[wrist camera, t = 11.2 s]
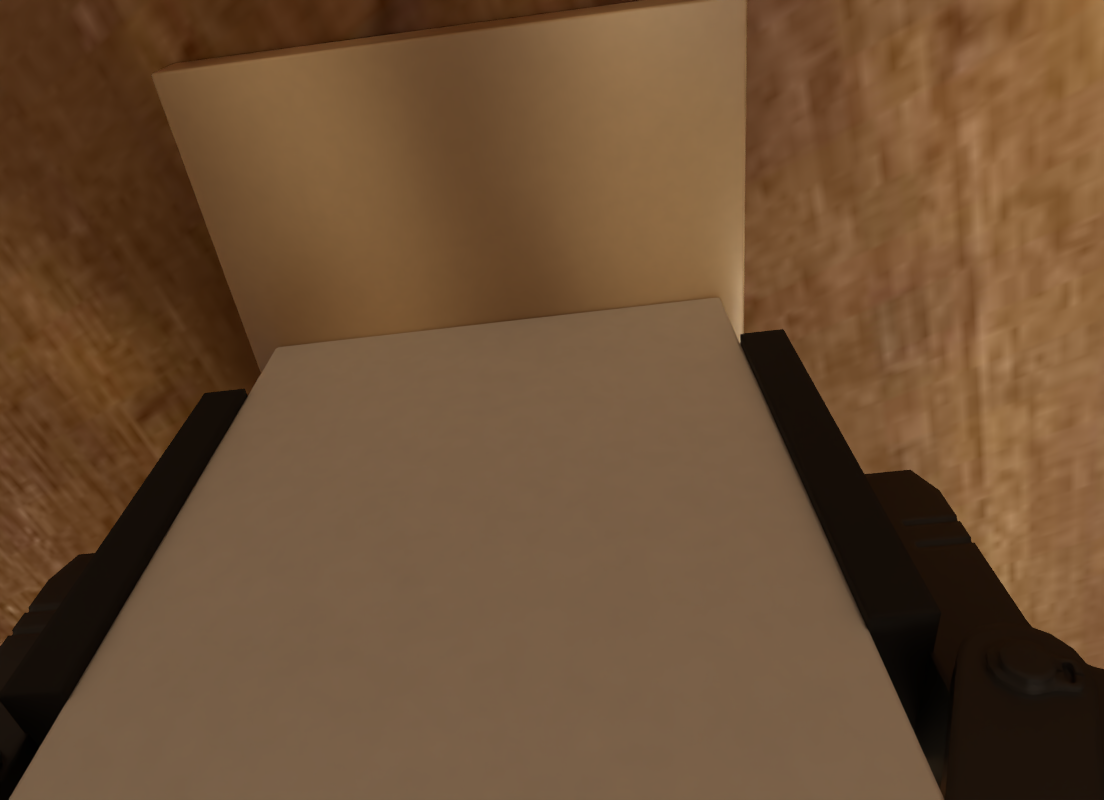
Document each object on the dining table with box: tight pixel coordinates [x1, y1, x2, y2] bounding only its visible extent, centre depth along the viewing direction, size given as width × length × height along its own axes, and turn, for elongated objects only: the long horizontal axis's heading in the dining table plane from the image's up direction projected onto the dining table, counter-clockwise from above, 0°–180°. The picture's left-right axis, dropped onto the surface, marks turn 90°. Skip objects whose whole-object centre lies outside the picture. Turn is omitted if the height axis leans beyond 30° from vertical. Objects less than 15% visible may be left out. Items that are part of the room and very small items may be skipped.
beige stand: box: [151, 0, 747, 373], centre depth 13 cm, size 10×19×14 cm, turn 7°
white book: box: [9, 297, 944, 800], centre depth 11 cm, size 9×2×13 cm, turn 97°
